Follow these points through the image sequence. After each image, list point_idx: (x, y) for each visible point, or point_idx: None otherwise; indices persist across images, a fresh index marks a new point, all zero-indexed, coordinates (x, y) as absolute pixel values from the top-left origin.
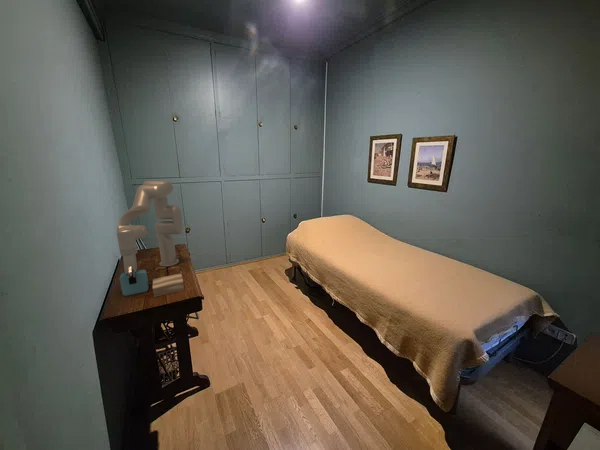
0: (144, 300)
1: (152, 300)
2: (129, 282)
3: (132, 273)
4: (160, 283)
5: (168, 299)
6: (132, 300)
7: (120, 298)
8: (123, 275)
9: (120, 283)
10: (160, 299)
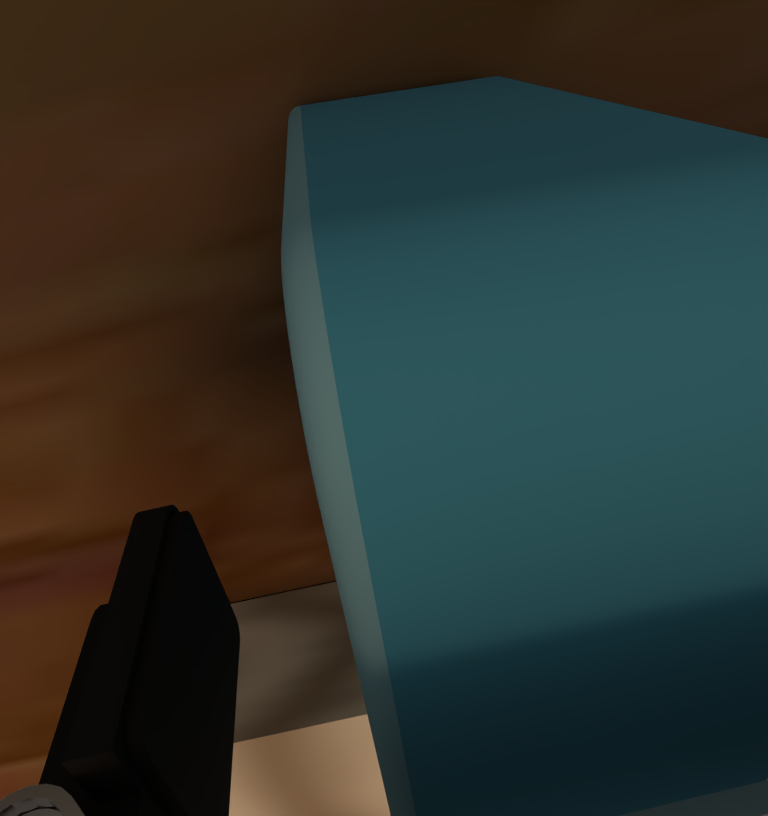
0: (31, 538)
1: (18, 632)
2: (123, 568)
3: (482, 805)
4: (285, 807)
5: (25, 771)
6: (56, 357)
7: (197, 66)
8: (385, 541)
9: (291, 172)
10: (37, 704)
